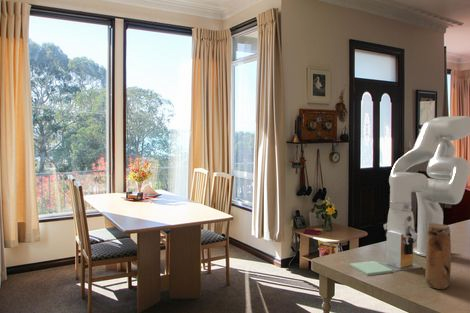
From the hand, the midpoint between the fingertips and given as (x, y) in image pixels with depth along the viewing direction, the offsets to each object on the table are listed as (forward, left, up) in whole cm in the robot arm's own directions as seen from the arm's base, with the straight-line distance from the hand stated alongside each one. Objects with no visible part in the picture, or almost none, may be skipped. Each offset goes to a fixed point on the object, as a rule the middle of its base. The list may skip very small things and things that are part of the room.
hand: (399, 250), depth 149 cm
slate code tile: (0, 0, -6) cm, 6 cm away
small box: (0, 0, -6) cm, 6 cm away
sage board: (+13, 0, -6) cm, 14 cm away
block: (+1, +20, -6) cm, 21 cm away
